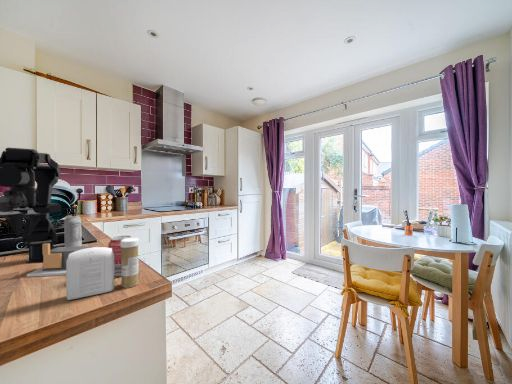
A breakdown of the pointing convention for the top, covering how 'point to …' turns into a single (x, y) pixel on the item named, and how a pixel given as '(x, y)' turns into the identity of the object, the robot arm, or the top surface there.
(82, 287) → the grey rounded-corner block
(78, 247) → the grey and white panel
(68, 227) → the energy drink can
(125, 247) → the sprinkles bottle
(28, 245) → the robot arm
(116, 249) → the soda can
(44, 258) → the wooden block
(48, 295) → the top surface
